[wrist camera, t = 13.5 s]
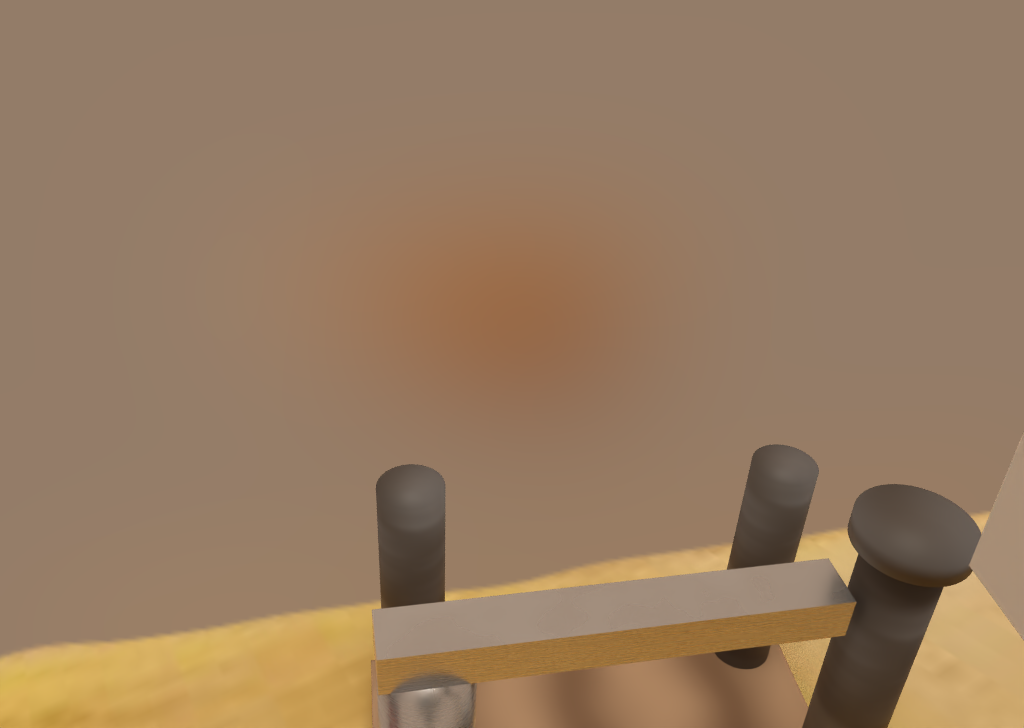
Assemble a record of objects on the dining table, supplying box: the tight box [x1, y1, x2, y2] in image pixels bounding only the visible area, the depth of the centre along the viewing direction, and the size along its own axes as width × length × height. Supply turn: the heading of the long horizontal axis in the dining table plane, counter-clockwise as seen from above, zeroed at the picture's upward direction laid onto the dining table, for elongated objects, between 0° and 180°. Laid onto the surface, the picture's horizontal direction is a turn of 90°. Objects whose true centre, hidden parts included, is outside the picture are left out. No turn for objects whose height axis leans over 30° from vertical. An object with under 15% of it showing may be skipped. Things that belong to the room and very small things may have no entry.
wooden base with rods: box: [371, 445, 981, 728], centre depth 39 cm, size 20×13×19 cm, turn 98°
